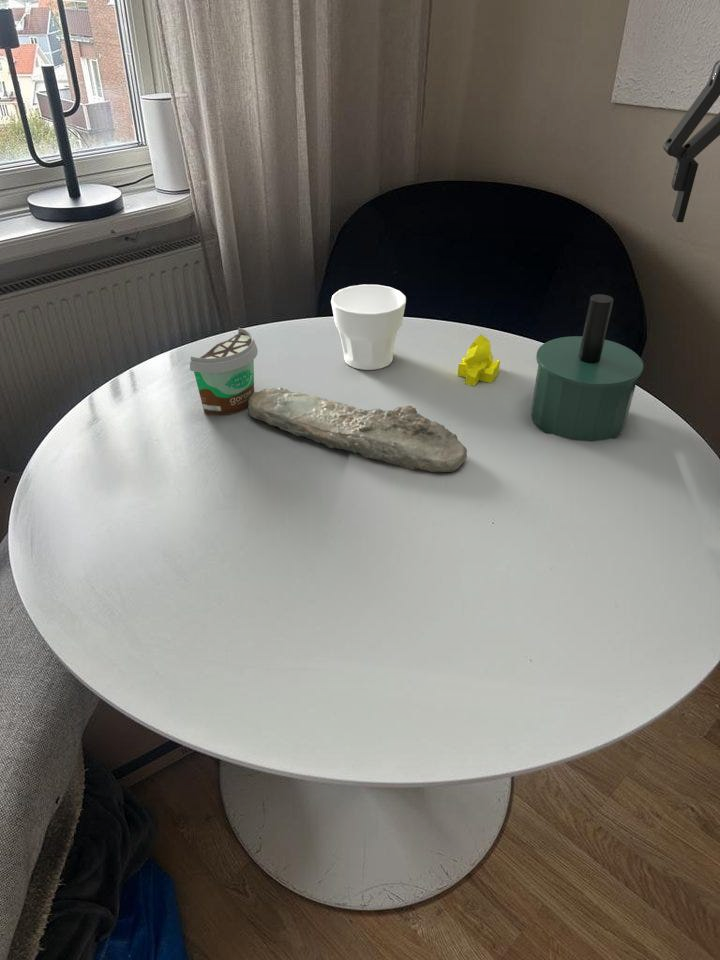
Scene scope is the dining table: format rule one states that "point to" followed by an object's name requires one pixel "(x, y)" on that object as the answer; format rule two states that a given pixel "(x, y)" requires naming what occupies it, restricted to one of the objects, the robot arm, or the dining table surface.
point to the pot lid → (591, 353)
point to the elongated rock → (362, 429)
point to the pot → (580, 408)
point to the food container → (226, 374)
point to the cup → (368, 323)
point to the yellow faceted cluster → (479, 363)
